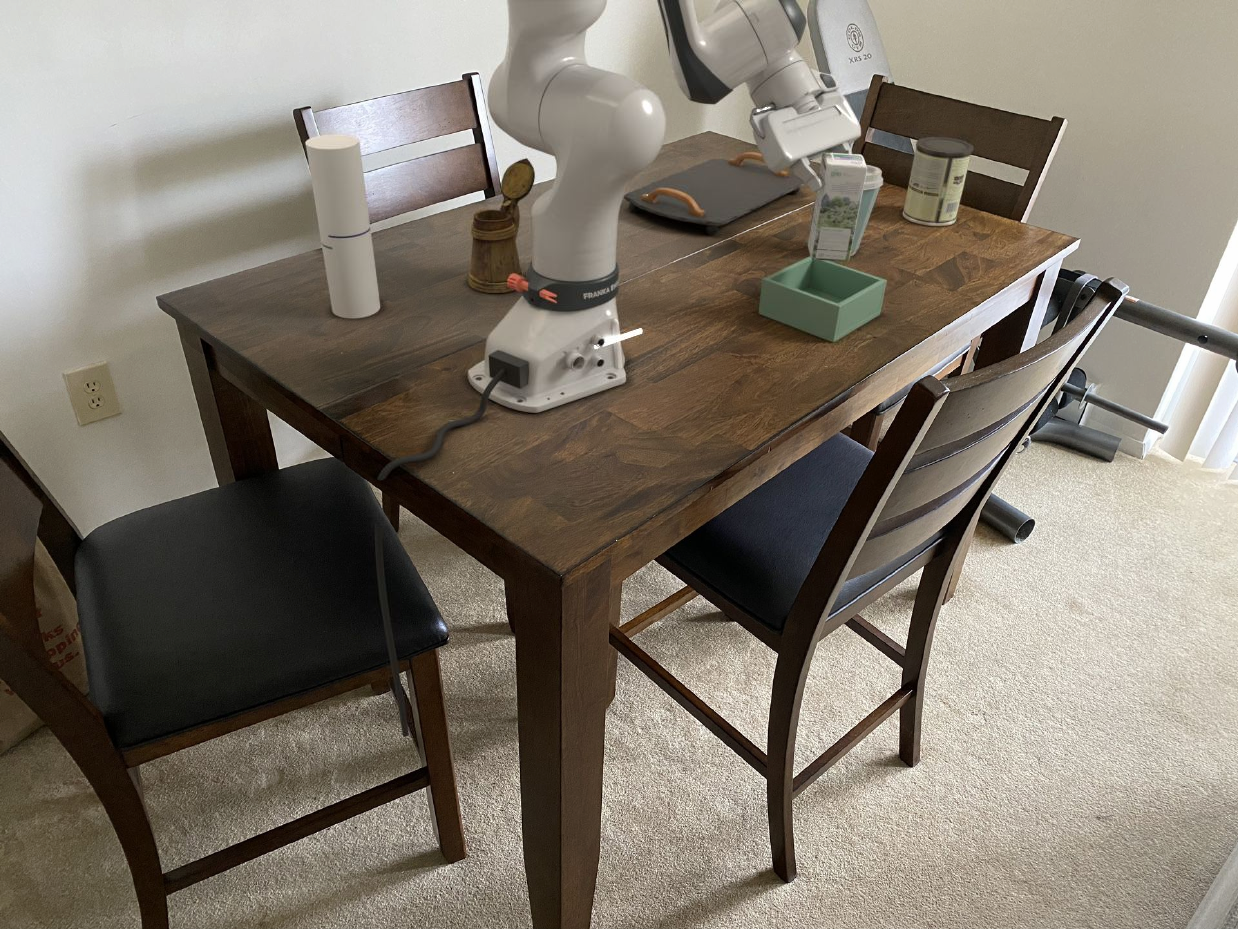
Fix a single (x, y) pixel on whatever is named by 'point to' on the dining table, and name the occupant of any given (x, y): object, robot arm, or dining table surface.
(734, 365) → the dining table surface
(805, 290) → the open storage box
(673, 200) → the serving tray
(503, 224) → the wooden mug
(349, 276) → the cylindrical container
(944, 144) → the coffee can
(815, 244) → the syrup box
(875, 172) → the disposable coffee cup
